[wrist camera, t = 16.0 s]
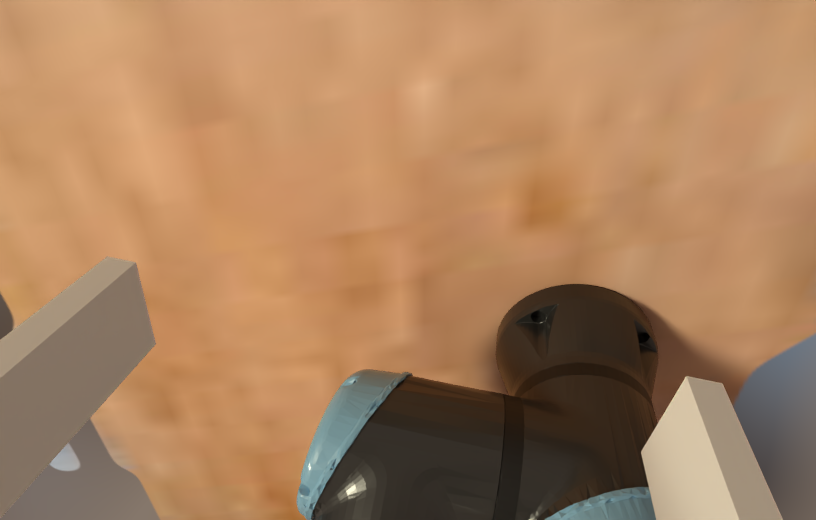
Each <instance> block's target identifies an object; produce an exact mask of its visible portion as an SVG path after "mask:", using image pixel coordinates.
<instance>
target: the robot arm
mask: <svg viewBox="0 0 816 520" xmlns="http://www.w3.org/2000/svg"><path fill="white" fill-rule="evenodd" d="M155 344H156V343H155V339H154V334H153V330H152V326H151V322H150V318H149V314H148V310H147V306H146V302H145V298H144V294H143V290H142V286H141V281H140V277H139V273H138V269H137V265H136V262H131V261H127V260H122V259H117V258H112V257H106V258H105V259H103V260H102V261H101V262H100V263H98V264H97V265H96V266H95V267H93V268H92V269H91V270H89V271H88V272H87V273H86V274H84V275H83V276H82V277H80V278H79V279H78V280H77V281H75V282H74V283H73V284H71V285H70V286H69V287H68V288H66V289H65V290H64V291H62V292H61V293H60V294H59V295H57V296H56V297H55V298H54V299H52V300H51V301H50V302H48V303H47V304H46V305H45V306H43V307H42V308H41V309H39V310H38V311H37V312H36V313H34V314H33V315H32V316H30V317H29V318H28V319H27V320H25V321H24V322H23V323H22V324H20V325H19V326H18V327H16V328H15V329H14V330H13V331H11V332H10V333H9V334H7V335H6V336H5V337H4V338H2V339H1V340H0V518H1V517H2V516H3V515H4V514H5V513H6V512H7V510H8V509H9V508H10V507H11V506H12V505H13V504H14V503H15V501H16V500H17V499H18V498H19V497H20V496H21V495H22V494H23V492H24V491H25V490H26V489H27V488H28V487H29V486H30V485H31V483H32V482H33V481H34V480H35V479H36V478H37V477H38V476H39V475H40V473H41V472H42V471H43V470H44V469H45V468H46V467H47V466H48V465H49V463H50V462H51V461H52V460H53V459H54V458H55V457H56V456H57V454H58V453H59V452H60V451H61V450H62V449H63V448H64V447H65V445H66V444H67V443H68V442H69V441H70V440H71V439H72V438H73V436H74V435H75V434H76V433H77V432H78V431H79V430H80V429H81V427H82V426H83V425H84V424H85V423H86V422H87V421H88V420H89V419H90V417H91V416H92V415H93V414H94V413H95V412H96V411H97V410H98V408H99V407H100V406H101V405H102V404H103V403H104V402H105V401H106V399H107V398H108V397H109V396H110V395H111V394H112V393H113V392H114V390H115V389H116V388H117V387H118V386H119V385H120V384H121V383H122V381H123V380H124V379H125V378H126V377H127V376H128V375H129V374H130V372H131V371H132V370H133V369H134V368H135V367H136V366H137V365H138V363H139V362H140V361H141V360H142V359H143V358H144V357H145V356H146V355H147V353H148V352H149V351H150V350H151V349H152V348H153V347H154V346H155ZM496 360H497V365H498V369H499V372H500V374H501V377H502V379H503V382H504V384H505V387H506V389H507V392H508V394H509V395H504V394H501V393H495V392H490V391H485V390H479V389H474V388H469V387H463V386H458V385H453V384H448V383H443V382H438V381H433V380H429V379H424V378H419V377H414V376H413V375H412V373H408V372H404V373H402V374H399V373H392V372H385V371H378V370H370V369H366V370H361V371H358V372H356V373H354V374H352V375H351V376H350V377H348V378H347V379H346V380H345V381H344V383H343V384H342V385H341V386H340V388H339V389H338V390H337V392H336V393H335V395H334V397H333V398H332V400H331V402H330V403H329V405H328V407H327V409H326V411H325V413H324V415H323V417H322V419H321V421H320V423H319V426H318V428H317V430H316V433H315V435H314V438H313V440H312V443H311V446H310V448H309V451H308V454H307V457H306V460H305V463H304V466H303V470H302V474H301V484H300V487H299V490H298V495H297V506H298V510H299V512H300V513H301V514H302V515H304V516H305V518H306V519H307V520H783V519H782V517H781V514H780V512H779V510H778V508H777V505H776V503H775V501H774V499H773V496H772V494H771V492H770V490H769V487H768V485H767V483H766V481H765V478H764V476H763V474H762V472H761V469H760V467H759V465H758V463H757V460H756V458H755V456H754V453H753V451H752V449H751V447H750V445H749V442H748V440H747V438H746V435H745V433H744V431H743V429H742V427H741V424H740V422H739V420H738V418H737V415H736V413H735V410H734V408H733V406H732V404H731V401H730V399H729V397H728V395H727V392H726V390H725V388H724V386H723V383H718V382H714V381H709V380H704V379H699V378H694V377H689V376H686V377H685V379H684V381H683V382H682V384H681V386H680V387H679V389H678V391H677V392H676V394H675V396H674V397H673V399H672V401H671V402H670V404H669V406H668V407H667V409H666V411H665V412H664V414H663V416H662V418H661V419H660V421H659V423H657V419H656V416H655V413H654V409H653V405H652V401H651V398H652V393H653V387H654V381H655V376H656V370H657V364H658V347H657V343H656V339H655V336H654V333H653V330H652V327H651V325H650V322H649V320H648V319H647V317H646V316H645V314H644V313H643V312H642V310H641V309H640V308H639V307H638V306H637V305H635V304H634V303H633V302H632V301H630V300H629V299H627V298H626V297H624V296H622V295H620V294H618V293H616V292H613V291H611V290H608V289H605V288H601V287H596V286H590V285H578V284H573V285H561V286H555V287H550V288H546V289H543V290H540V291H538V292H535V293H533V294H531V295H529V296H527V297H525V298H524V299H522V300H521V301H519V302H518V303H517V304H515V305H514V306H513V307H512V308H511V309H510V310H509V311H508V313H507V314H506V315H505V317H504V318H503V320H502V322H501V324H500V326H499V329H498V333H497V342H496Z"/></svg>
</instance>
